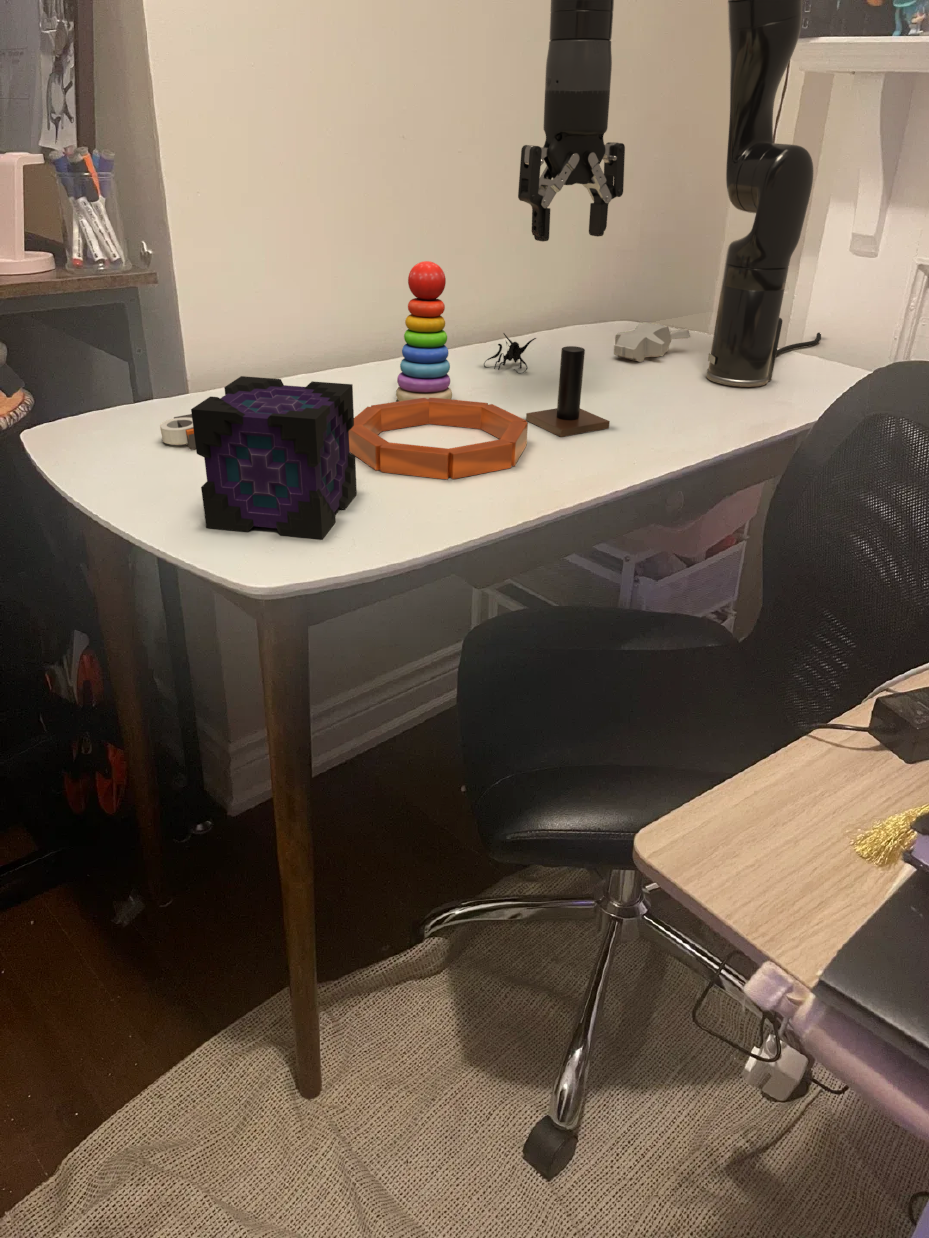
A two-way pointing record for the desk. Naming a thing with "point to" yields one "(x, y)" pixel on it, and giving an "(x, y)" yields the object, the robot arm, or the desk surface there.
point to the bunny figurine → (646, 341)
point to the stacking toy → (425, 338)
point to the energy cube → (276, 456)
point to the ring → (433, 458)
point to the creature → (511, 353)
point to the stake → (569, 400)
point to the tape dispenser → (179, 431)
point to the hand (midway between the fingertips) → (569, 238)
